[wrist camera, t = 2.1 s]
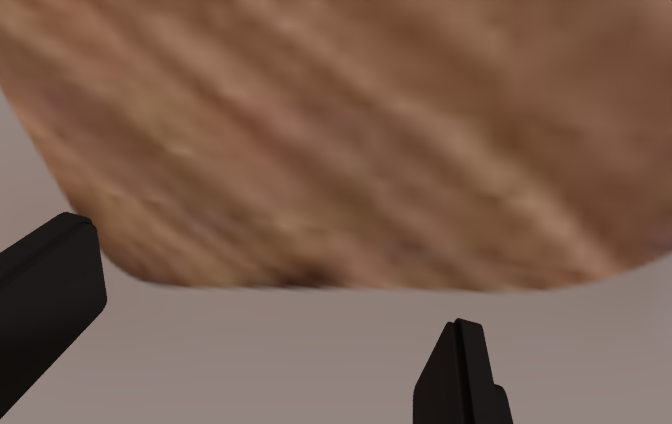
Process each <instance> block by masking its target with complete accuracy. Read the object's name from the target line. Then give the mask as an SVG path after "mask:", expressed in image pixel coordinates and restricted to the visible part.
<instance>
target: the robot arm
mask: <svg viewBox="0 0 672 424" xmlns="http://www.w3.org/2000/svg"><path fill="white" fill-rule="evenodd" d="M106 303H107V295H106V288H105V281H104V275H103V268H102V261H101V255H100V248H99V241H98V235H97V229H96V227H95V226H94V225H93V224H92V221H91V220H90V219H89V218H87V217H83V216H80V215H76V214H72V213H69V212H63V213H61V214H59V215H57V216H56V217H54V218H53V219H51V220H50V221H48V222H47V223H45V224H44V225H42V226H40V227H39V228H37V229H36V230H34V231H33V232H31V233H30V234H28V235H27V236H25V237H24V238H22V239H21V240H19V241H18V242H16V243H15V244H13V245H12V246H10V247H8V248H7V249H5V250H4V251H2V252H1V253H0V419H1V418H2V417H3V416H4V415H5V414H6V412H8V410H9V409H10V408H11V407H12V406H13V405H14V404H15V403H16V402H17V401H18V400H19V399H20V398H21V397H22V396H23V395H24V394H25V392H26V391H27V390H28V389H29V388H30V387H31V386H32V385H33V384H34V383H35V382H36V381H37V379H39V378H40V377H41V375H42V374H43V373H44V372H45V371H46V370H47V369H48V368H49V367H50V366H51V365H52V364H53V363H54V362H55V361H56V360H57V359H58V357H60V355H61V354H62V353H63V352H64V351H65V350H66V349H67V348H68V347H69V346H70V345H71V344H72V343H73V342H74V341H75V340H76V339H77V337H78V336H79V335H80V334H81V333H82V332H83V331H84V330H85V329H86V328H87V327H88V326H89V325H90V324H91V323H92V322H93V321H94V320H95V318H96V317H97V316H98V315H99V314H100V313H101V312H102V311H103V309H104V307H105V305H106ZM413 424H513V420H512V416H511V412H510V407H509V403H508V399H507V395H506V393H505V391H504V389H503V387H501V386H499V385H496V384H494V382H493V377H492V372H491V367H490V362H489V357H488V352H487V347H486V342H485V337H484V332H483V328H482V325H481V324H478V323H475V322H471V321H467V320H463V319H460V318H457V319H456V320H455V322H454V323H452V322H447V324H446V326H445V327H444V329H443V331H442V333H441V335H440V337H439V340H438V342H437V343H436V346H435V348H434V350H433V351H432V354H431V355H430V357H429V360H428V362H427V363H426V366H425V367H424V369H423V371H422V373H421V375H420V378H419V380H418V381H417V384H416V386H415V389H414V394H413Z"/></svg>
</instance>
